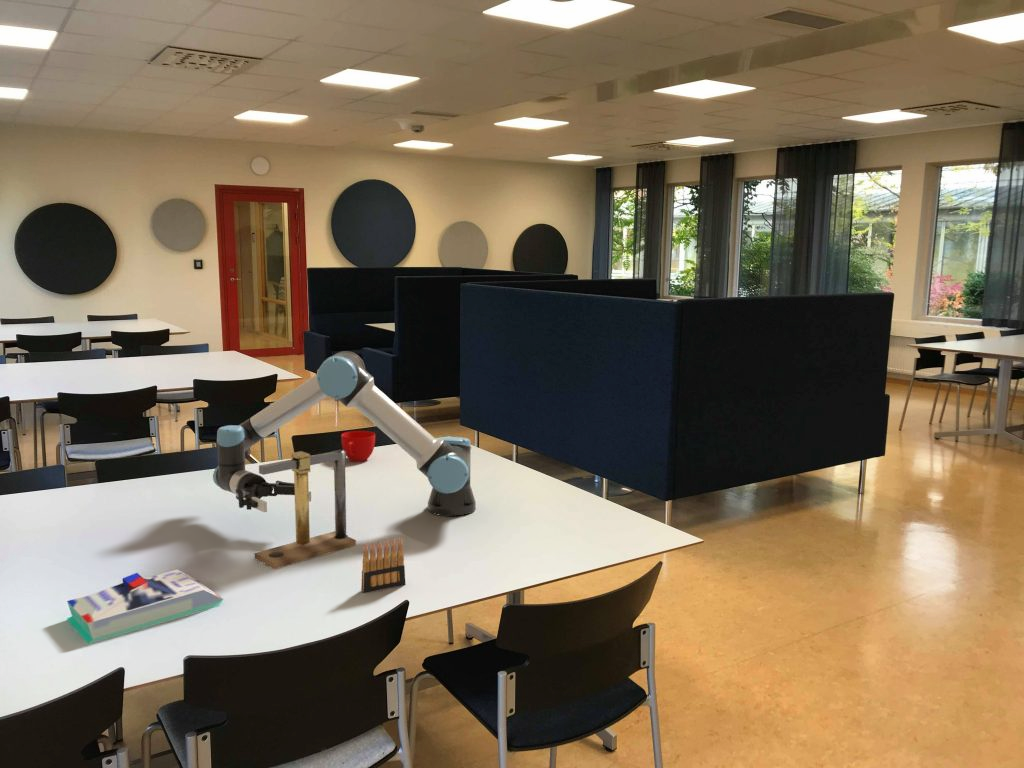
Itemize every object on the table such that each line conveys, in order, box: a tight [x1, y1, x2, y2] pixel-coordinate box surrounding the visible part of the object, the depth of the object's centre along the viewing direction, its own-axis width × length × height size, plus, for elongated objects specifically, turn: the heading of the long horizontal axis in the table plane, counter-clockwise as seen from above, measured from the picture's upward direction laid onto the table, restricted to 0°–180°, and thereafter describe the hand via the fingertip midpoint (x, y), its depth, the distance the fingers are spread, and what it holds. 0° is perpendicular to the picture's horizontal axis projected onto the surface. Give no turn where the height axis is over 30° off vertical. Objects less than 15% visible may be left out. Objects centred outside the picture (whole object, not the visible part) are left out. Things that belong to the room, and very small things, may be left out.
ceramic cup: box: [340, 430, 376, 462], centre depth 315 cm, size 13×17×10 cm
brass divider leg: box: [290, 450, 311, 545], centre depth 218 cm, size 4×4×25 cm
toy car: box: [66, 568, 224, 645], centre depth 182 cm, size 17×30×9 cm, turn 133°
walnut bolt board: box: [253, 530, 357, 570], centre depth 221 cm, size 25×10×2 cm, turn 136°
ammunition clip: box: [360, 536, 406, 594], centre depth 197 cm, size 11×2×12 cm, turn 120°
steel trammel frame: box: [258, 449, 347, 538], centre depth 218 cm, size 25×3×24 cm, turn 136°
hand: (288, 501), depth 222 cm, fingers open, 13 cm apart
